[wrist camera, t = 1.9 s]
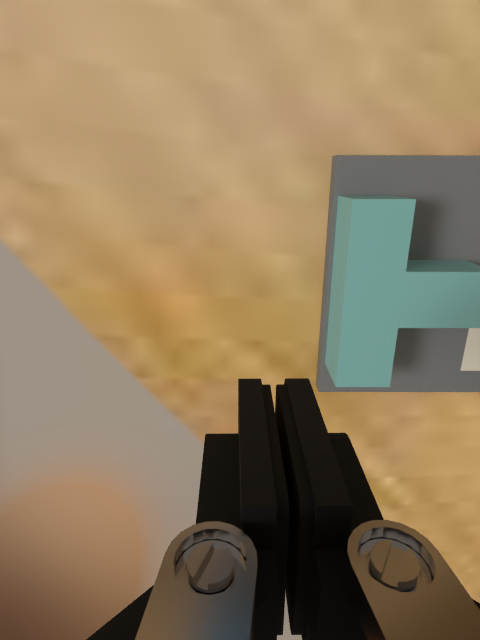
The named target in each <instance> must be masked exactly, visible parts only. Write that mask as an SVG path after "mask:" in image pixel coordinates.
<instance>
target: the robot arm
mask: <svg viewBox="0 0 480 640" xmlns="http://www.w3.org/2000/svg"><path fill="white" fill-rule="evenodd" d="M201 472H202V473H201V481H200V490H199V501H198V510H197V519H196V524H195V525H192V526H191V527H189V528H187V529H185V530H184V531H182V532H180V534H178V535H177V537H175V538H174V540H172V542H171V543H170V545H169V547H168V549H167V551H166V553H165V555H164V558H163V561H162V564H161V567H160V569H159V572H158V575H157V578H156V581H155V584H154V585H153V586H152V587H151V588H149V589H148V590H147V591H146V592H145V593H143V594H142V595H141V596H140V597H138V598H137V599H136V600H135V601H133V602H132V603H131V604H130V605H128V606H127V607H126V608H125V609H124V610H122V611H121V612H120V613H119V614H118V615H116V616H115V617H114V618H112V619H111V620H110V621H109V622H107V623H106V624H105V625H104V626H103V627H101V628H100V629H99V630H98V631H96V632H95V633H94V634H93V635H92V636H91V637H89V638H88V639H87V640H277V635H283V623H284V622H283V621H284V604H285V589H286V598H287V605H288V614H289V622H290V629H291V634H292V635H302V640H480V603H478V602H476V601H475V600H473V599H472V598H471V597H470V595H469V594H468V592H467V591H466V590H465V588H464V587H463V585H462V584H461V582H460V581H459V580H458V578H457V577H456V575H455V574H454V573H453V571H452V570H451V568H450V567H449V565H448V564H447V563H446V561H445V560H444V558H443V557H442V555H441V554H440V553H439V551H438V550H437V549H436V548H435V547H434V545H433V544H432V543H431V542H430V541H429V540H428V539H427V538H426V537H424V536H423V535H422V534H420V533H419V532H418V531H416V530H415V529H412V528H410V527H408V526H406V525H404V524H402V523H398V522H394V521H389V520H384V519H383V517H382V515H381V512H380V510H379V508H378V505H377V503H376V500H375V498H374V496H373V493H372V491H371V489H370V486H369V484H368V481H367V479H366V477H365V474H364V472H363V470H362V467H361V465H360V463H359V460H358V458H357V455H356V453H355V451H354V448H353V446H352V444H351V441H350V439H349V437H348V435H347V434H346V433H328V432H327V429H326V426H325V424H324V421H323V418H322V415H321V412H320V409H319V406H318V404H317V401H316V398H315V395H314V392H313V389H312V386H311V384H310V381H309V379H285V383H284V385H277V386H276V405H275V412H274V406H273V400H272V394H271V387H270V385H262V382H261V379H239V381H238V434H206V435H205V443H204V453H203V462H202V471H201Z"/></svg>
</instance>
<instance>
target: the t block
mask: <svg viewBox="0 0 480 640" xmlns="http://www.w3.org/2000/svg"><path fill="white" fill-rule="evenodd" d="M415 204H416V199H413V198H406V197H400V196H394V195H338V205H337V218H336V231H335V244H334V256H333V269H332V282H331V294H330V307H329V320H328V332H327V345H326V358H325V364H326V367H327V369H328V371H329V373H330V376H331V378H332V380H333V382H334V385H335V387H390V382H391V375H392V368H393V361H394V354H395V347H396V340H397V332H398V328H480V266H479V265H477V264H474V263H472V262H469V261H467V260H408V254H409V247H410V240H411V233H412V226H413V218H414V211H415Z"/></svg>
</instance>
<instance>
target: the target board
mask: <svg viewBox="0 0 480 640" xmlns="http://www.w3.org/2000/svg"><path fill="white" fill-rule="evenodd" d="M338 195H394V196H400V197H406V198H413V199H416V204H415V211H414V218H413V226H412V233H411V240H410V247H409V254H408V260H467V261H469V262H472V263H474V264H477V265H479V266H480V156H345V155H337V156H333V158H332V172H331V186H330V199H329V213H328V227H327V241H326V255H325V269H324V282H323V296H322V310H321V324H320V338H319V352H318V366H317V379H316V385H317V388H318V391H319V392H480V328H398V332H397V340H396V347H395V354H394V361H393V368H392V375H391V382H390V387H335V385H334V382H333V380H332V378H331V376H330V373H329V371H328V369H327V367H326V364H325V358H326V345H327V332H328V320H329V307H330V294H331V282H332V269H333V256H334V244H335V231H336V218H337V205H338Z"/></svg>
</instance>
